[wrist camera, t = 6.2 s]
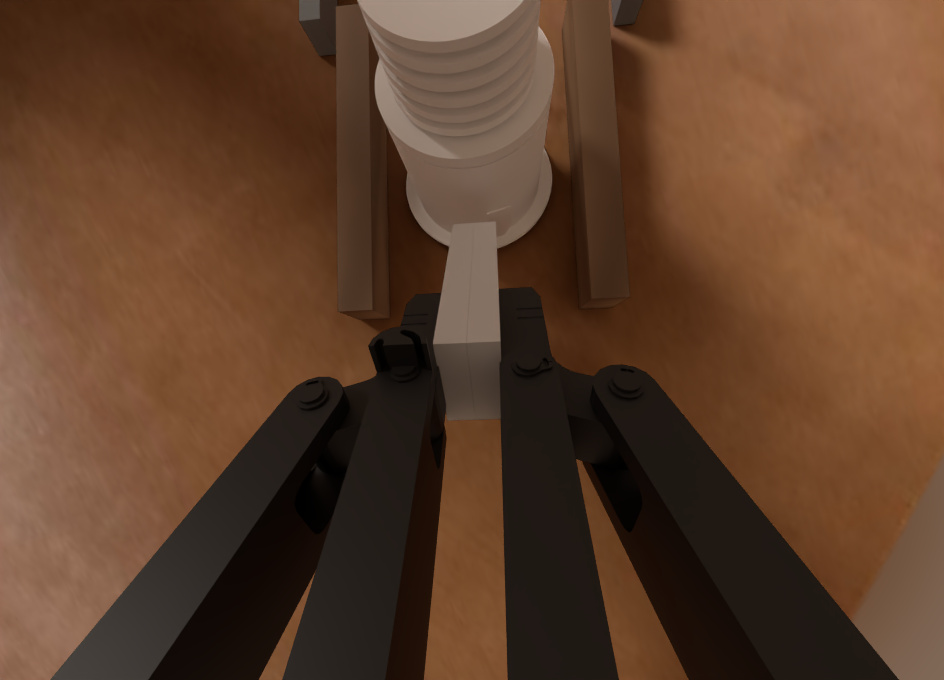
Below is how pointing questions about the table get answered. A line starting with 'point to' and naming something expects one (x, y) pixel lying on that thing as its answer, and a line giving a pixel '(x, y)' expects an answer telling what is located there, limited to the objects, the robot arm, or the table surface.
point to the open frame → (322, 3)
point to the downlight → (466, 109)
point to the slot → (588, 148)
